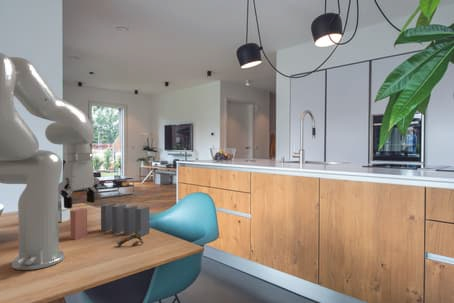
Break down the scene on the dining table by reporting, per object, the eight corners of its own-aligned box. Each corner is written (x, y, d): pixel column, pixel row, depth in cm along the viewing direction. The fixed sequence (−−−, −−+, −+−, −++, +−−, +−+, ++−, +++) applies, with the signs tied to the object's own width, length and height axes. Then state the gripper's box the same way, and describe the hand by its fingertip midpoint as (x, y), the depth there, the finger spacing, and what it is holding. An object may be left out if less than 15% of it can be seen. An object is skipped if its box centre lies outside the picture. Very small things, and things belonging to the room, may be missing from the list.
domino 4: (137, 231, 112) (137, 205, 111) (128, 235, 107) (128, 208, 107) (132, 230, 112) (132, 205, 112) (123, 234, 108) (123, 207, 108)
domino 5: (149, 233, 109) (149, 206, 109) (140, 236, 105) (140, 209, 105) (144, 232, 110) (144, 206, 110) (135, 236, 106) (135, 208, 106)
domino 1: (87, 235, 106) (87, 208, 106) (75, 239, 102) (75, 211, 102) (82, 234, 107) (82, 208, 107) (70, 238, 103) (70, 210, 103)
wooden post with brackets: (145, 242, 96) (140, 230, 96) (122, 254, 94) (116, 242, 94) (145, 240, 98) (140, 229, 98) (123, 252, 96) (117, 240, 96)
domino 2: (115, 228, 116) (115, 203, 116) (105, 231, 111) (105, 205, 111) (110, 227, 117) (110, 203, 116) (101, 231, 112) (100, 205, 112)
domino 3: (126, 230, 114) (126, 204, 113) (117, 233, 109) (116, 207, 109) (121, 229, 115) (121, 204, 114) (112, 232, 110) (111, 206, 110)
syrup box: (70, 219, 131) (70, 187, 130) (61, 222, 125) (61, 189, 125) (58, 218, 131) (58, 187, 131) (49, 222, 125) (48, 188, 125)
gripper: (90, 156, 114) (91, 199, 115) (48, 159, 98) (50, 209, 99) (105, 156, 111) (106, 201, 112) (64, 160, 95) (66, 211, 96)
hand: (79, 205), depth 105 cm, fingers open, 9 cm apart
